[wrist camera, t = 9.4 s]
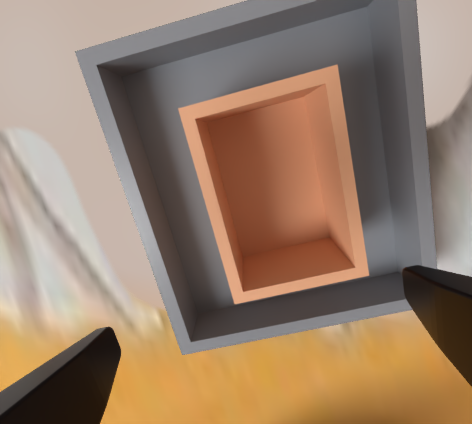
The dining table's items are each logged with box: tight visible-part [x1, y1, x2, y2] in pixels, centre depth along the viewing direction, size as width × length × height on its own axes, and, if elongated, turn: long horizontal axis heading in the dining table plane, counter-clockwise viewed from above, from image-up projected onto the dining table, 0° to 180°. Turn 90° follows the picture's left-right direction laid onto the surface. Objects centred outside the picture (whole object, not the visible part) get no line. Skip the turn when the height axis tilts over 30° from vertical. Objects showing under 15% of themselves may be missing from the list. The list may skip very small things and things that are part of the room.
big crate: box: [75, 0, 437, 355], centre depth 17 cm, size 18×16×4 cm
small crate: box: [178, 64, 369, 304], centre depth 16 cm, size 10×7×5 cm
